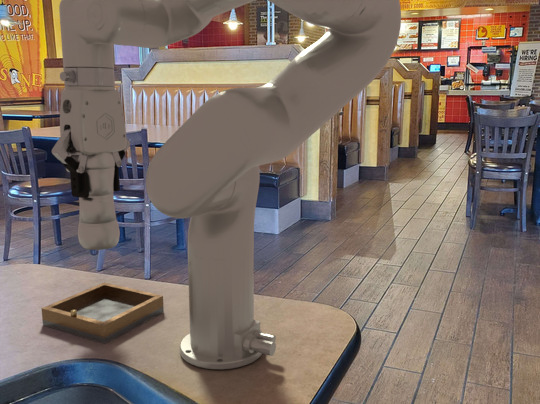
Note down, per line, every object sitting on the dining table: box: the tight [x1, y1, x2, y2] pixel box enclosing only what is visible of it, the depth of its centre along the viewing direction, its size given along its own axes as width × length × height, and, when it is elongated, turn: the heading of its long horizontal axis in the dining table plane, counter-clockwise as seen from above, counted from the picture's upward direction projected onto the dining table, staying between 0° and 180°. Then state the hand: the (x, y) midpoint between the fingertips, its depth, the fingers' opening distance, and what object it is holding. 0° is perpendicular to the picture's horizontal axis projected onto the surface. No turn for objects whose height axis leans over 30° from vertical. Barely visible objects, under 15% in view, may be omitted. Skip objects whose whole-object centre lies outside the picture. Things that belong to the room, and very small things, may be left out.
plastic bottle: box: [76, 151, 121, 251], centre depth 87 cm, size 6×7×20 cm
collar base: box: [41, 282, 164, 345], centre depth 91 cm, size 14×14×4 cm
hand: (96, 192), depth 87 cm, fingers closed on plastic bottle, 6 cm apart
